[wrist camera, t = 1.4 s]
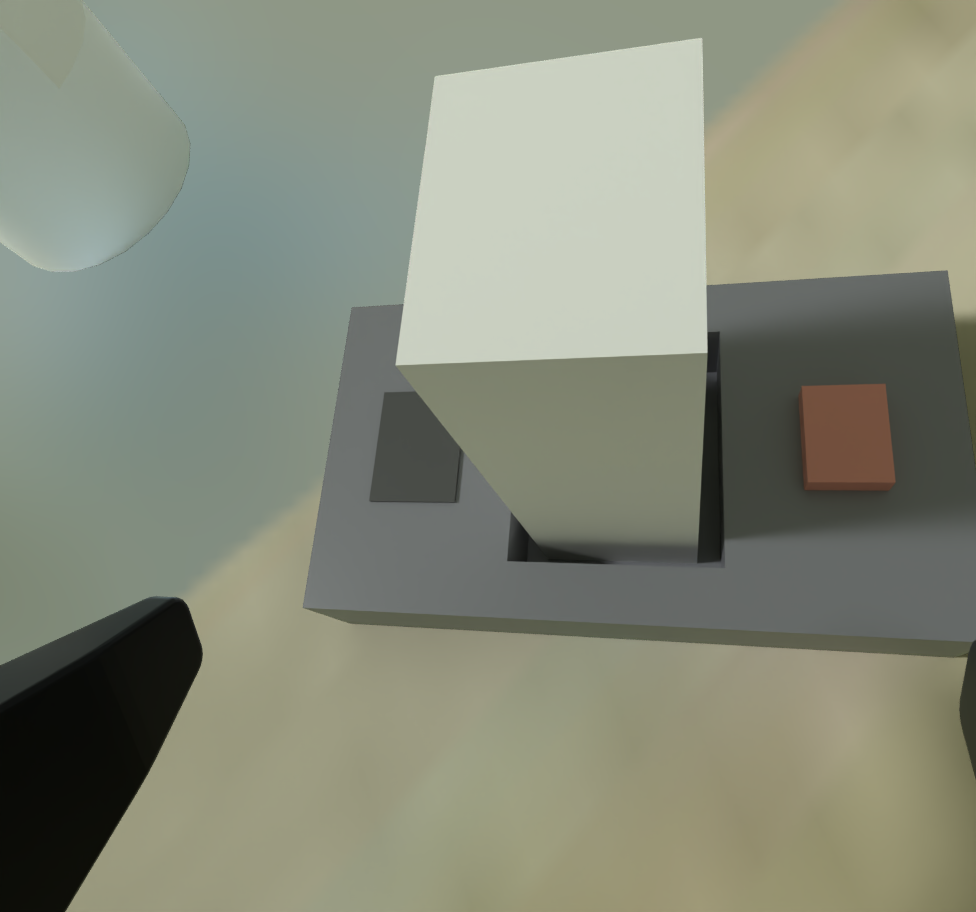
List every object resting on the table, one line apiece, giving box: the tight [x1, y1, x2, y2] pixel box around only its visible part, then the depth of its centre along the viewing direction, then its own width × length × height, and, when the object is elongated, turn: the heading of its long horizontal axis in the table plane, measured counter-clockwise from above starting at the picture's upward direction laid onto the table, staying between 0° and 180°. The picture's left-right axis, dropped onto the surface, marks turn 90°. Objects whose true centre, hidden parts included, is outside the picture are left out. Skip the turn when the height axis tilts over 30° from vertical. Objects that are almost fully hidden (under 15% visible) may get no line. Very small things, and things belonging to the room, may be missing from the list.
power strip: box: [303, 270, 976, 657], centre depth 20 cm, size 16×9×4 cm, turn 85°
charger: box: [395, 38, 708, 563], centre depth 16 cm, size 4×5×12 cm
